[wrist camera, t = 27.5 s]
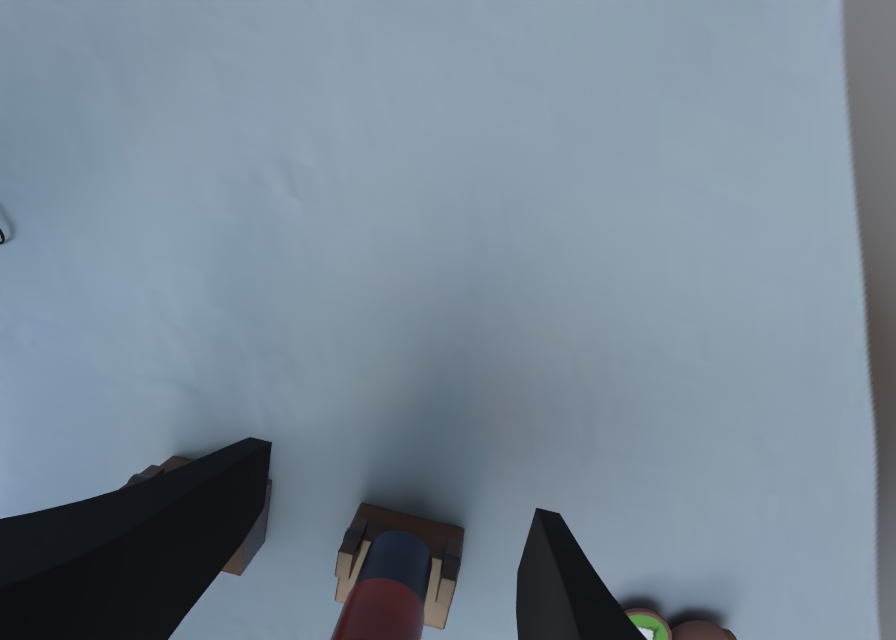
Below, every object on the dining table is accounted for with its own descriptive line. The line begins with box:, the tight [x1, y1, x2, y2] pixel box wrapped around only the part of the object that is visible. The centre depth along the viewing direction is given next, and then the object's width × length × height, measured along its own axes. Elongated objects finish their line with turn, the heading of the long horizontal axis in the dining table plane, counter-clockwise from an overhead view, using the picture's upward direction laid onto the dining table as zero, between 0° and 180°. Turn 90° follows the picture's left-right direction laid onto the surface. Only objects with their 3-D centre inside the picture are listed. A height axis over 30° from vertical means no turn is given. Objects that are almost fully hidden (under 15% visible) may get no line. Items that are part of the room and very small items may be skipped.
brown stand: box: [335, 503, 465, 629], centre depth 21 cm, size 5×6×8 cm
